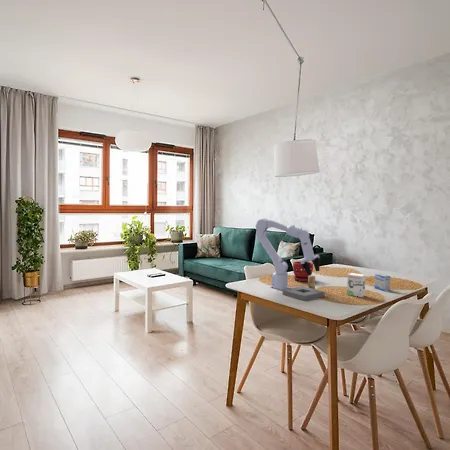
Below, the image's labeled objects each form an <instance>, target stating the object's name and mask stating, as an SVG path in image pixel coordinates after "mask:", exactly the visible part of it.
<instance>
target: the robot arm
mask: <svg viewBox="0 0 450 450" xmlns="http://www.w3.org/2000/svg"><path fill="white" fill-rule="evenodd" d="M271 228H274V229H278V230H279V231H280V230H281V231H283V232H286V234H287V235H288V236H291V237H293V238H296V239H299V240H300V243H301V244H300V245H301V249H302V253H303V256H304V258H303V259H302V260H300V261H299V262H301V266H302V267H303V268H304V269H305V271H306V272H307V274H308V275H311V271H310V263H307V262H311V263H313V268H314V270H315V272H320V265H321V260H322V259H321V257H320V254H314V250H313V246H312V242H311V238H310V233H309V231H308V230H306V229H303V228H299V227H296V226H295V225H294V224H293V225H291V224H290V225H288V226H287V225H285V224H282V223H280V222H277V221H275V220H272V219H267V218H259V219H258V220H257V222H256V225H255V232H256V234H255V235H256V238H257V240H258V241H259V243H260V244H261V246H262V247H263V249H264V250H265V252H266V253H267V254H268V256H269V258H270V259H271V261H272V264H273V266H274V269H275V272H273V273H272V275H271V286H270V288H272V287H273V289H278V290H280V291H283V290H285V289H290V288H291V287H290V286H288V279H289V277H288V276H289V274H288V271H287V270H288V269H289V265H288V263H287V262H286V261H284V260H283V258H282V257H281V256H280V255H279V253H278V252H277V251H276V249H275V248H274V246H273V245H272V243H271V242H270V240H269V238H268V237H267V235H266V234H267V230H268V229H271ZM311 276H312V275H311Z"/></svg>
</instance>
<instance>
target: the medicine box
mask: <svg viewBox="0 0 450 450" xmlns="http://www.w3.org/2000/svg"><path fill="white" fill-rule="evenodd" d="M374 289H376V290H380V291H383V292H387V291H391V276H390V275H386V274H382V273H375V274H374Z"/></svg>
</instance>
